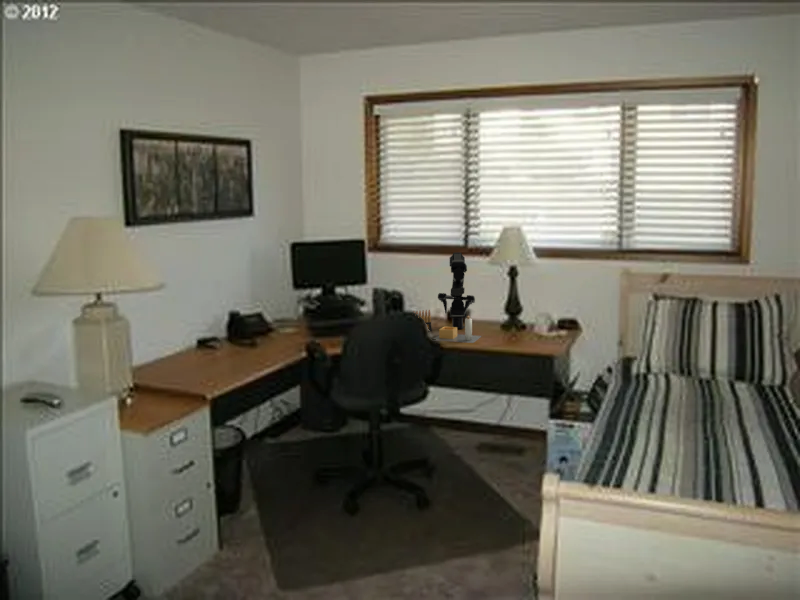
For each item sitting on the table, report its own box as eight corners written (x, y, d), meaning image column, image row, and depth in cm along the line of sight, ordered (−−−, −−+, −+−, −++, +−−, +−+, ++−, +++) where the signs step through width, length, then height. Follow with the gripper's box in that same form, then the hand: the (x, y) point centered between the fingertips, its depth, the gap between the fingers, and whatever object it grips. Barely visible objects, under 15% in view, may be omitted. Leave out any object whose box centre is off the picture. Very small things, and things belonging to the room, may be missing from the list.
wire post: (466, 339, 357) (466, 315, 355) (472, 339, 356) (472, 315, 354) (464, 340, 354) (464, 316, 352) (470, 341, 353) (470, 316, 351)
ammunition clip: (413, 332, 379) (412, 311, 377) (412, 332, 381) (411, 310, 378) (431, 331, 382) (431, 309, 380) (430, 330, 384) (430, 308, 382)
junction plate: (441, 335, 372) (441, 324, 371) (481, 337, 364) (481, 327, 363) (431, 341, 357) (431, 331, 356) (473, 344, 349) (473, 334, 348)
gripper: (438, 279, 357) (434, 309, 354) (474, 282, 353) (471, 312, 350) (440, 284, 367) (437, 313, 364) (476, 287, 364) (473, 316, 361)
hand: (454, 314), depth 360 cm, fingers open, 9 cm apart
